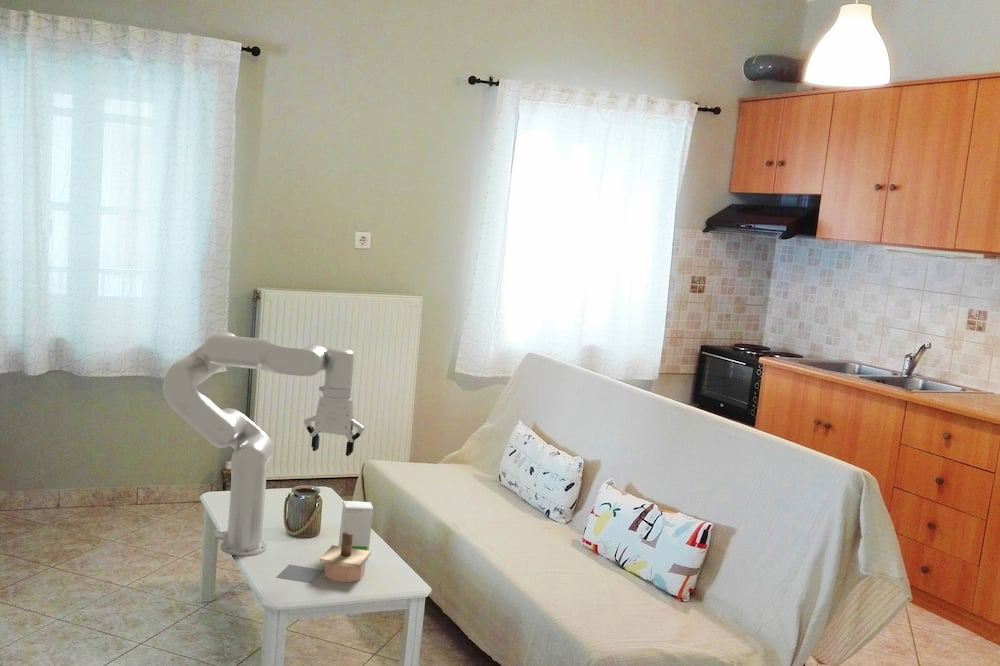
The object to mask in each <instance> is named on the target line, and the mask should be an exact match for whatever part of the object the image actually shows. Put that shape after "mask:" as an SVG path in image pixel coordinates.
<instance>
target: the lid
mask: <svg viewBox="0 0 1000 666" xmlns="http://www.w3.org/2000/svg"><path fill="white" fill-rule="evenodd" d="M352 539H353V533H352V532H343V534H342V545H341V546H338V545H335V544H333V545H331V546H330V547H329V548H328V549H327V550H326V551H325V552H324V554H323V555H321V557H320V558H319V563H322V564H325V563H328V564H334V565H341V566H347V567H354V568H360V567H361V566H362V565H363V563H364V562H365V561H368V560H369V558H370V557H371V554H372V551H371V550H369V551H367V550H360V549H354V548H352ZM365 563H366V562H365Z"/></svg>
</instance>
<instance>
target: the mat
mask: <svg viewBox="0 0 1000 666" xmlns="http://www.w3.org/2000/svg"><path fill="white" fill-rule="evenodd" d="M323 572H325V569H322V568H314V567H307V566H301V565H294V564H288V565H287V566H286V567H285V568H284V569H283V570H282V571H281V572H280V573H279V574H277V576H275V578H277V579H283V580H288V581H295V582H299V583H300V582H301V583H308V584H314V582H315V581H316V580H317V579H318V578H319V577H320V575H322V573H323Z"/></svg>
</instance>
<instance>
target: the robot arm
mask: <svg viewBox="0 0 1000 666" xmlns="http://www.w3.org/2000/svg"><path fill="white" fill-rule="evenodd" d="M354 363H355V354H354V352H353V351H352V350H351V349H348V348H341V347H338V348H337V347H334V348H333V347H329V346H328V347H327V346H324V345H321V344H309V345H307V346H305V347H304V348H297V347H296V348H295V347H287V346H281V345H276V344H274V343H272V342H270V341H269V340H267V339H265V338H260V337H259V338H258V337H257V338H256V337H248V336H247V337H245V336H237V335H235V334H233V333H232V332H229V331H218V332H217V333H214V334H212V335H211V336H208V338H207V339H206V340H205V341H204V342H203V344H202V345H201V346H200V347H198V348H197V349H196V350H193V352H191V353H190V354H188V355H187V356H185V357H183V358H182V359H180V360H178V361H176V362H175V363H173V364H172V365H171V366H170V367H169V368H168V369H167V371H166V372H165V375H164V378H163V382H162V390H163V396H164V398H165V401H166V402H167V405H169V406H170V408H172V409H173V410H174V412H176V413H177V414H178V415H179V416H180V417H181V418H182V419H184V420H185V421H186V422H187V423H188V424H189V425H190V426H191V427H192V428H194V430H195V431H197V432H198V433H199V434H200V435H201V436H202V437H203V438H204V439H206V440H207V442H209V443H210V444H211V445H212V446H215V447H216V448H220V449H221V448H223V449H224V448H228V447H229V446H230V447H231V448H232V449H234V451H233V452H232V455H231V460H230V493H229V497H230V498H229V508H228V523H227V529H226V530H222V529H215V530H214V532H213V535H214V536H213V537H214V539H215V540H222V542H221V543H220V550H221V551H222V552H223V553H225V554H228V555H230V556H235V557H237V556H240V557H242V556H243V557H247V556H249V557H250V556H256V555H261V554H262V553H265V552H266V551H267V549H268V548H267V546H268V545H267V543H266V542H265V541H264V540H262V539H263V526H264V515H265V513H264V512H265V501H266V500H265V499H266V490H267V489H266V488H267V467H268V464H269V462H270V461H271V459H272V458H273V455H274V453H275V452H274V451H275V448H274V447H275V445H274V443H273V440H272V439H271V438H270V436H269V435H267V433H266V432H264V431H263V430H262V429H261V428H260V427H259V426H257V425H256V423H254V421H252V420H251V419H250V418H249V417H247V415H246V414H244V413H242V412H241V411H239V410H237V409H235V408H230V407H228V408H227V407H226V408H222V409H221V408H220V407H218V406H217V404H215V403H214V402H213V401H212V399H210V398H208V397H207V396H206V395H204V394H202V393H201V392H200V391H199V390H198V389H197V386H199V385H201V384H202V383H203V382H205V381H206V380H207V379H209V378H210V377H211V376H213V375H214V374H215V373H217V372H218V371H220V370H221V369H222V368H223V367H229V368H230V367H234V368H243V369H252V370H253V369H254V370H260V371H264V372H269V373H274V374H279V375H286V376H287V375H289V376H295V377H296V376H297V377H298V376H299V377H311V376H312V377H313V376H315V375H317V374H318V373H320V372H321V371H322V372H323V371H324V385H322V386H319V387H318V391H319V392H321V393H322V395H320V397H319V399H318V404H317V407H316V408H317V409H316V413H315V415H314V416H311V417H308V418H305V419H304V420H303V422H304V425H305V427H306V430H307V432H308V433H309V434H310V437H311V445H310V446H311V448H312V452H317V450H319V446H320V435H319V434H320V433H322V434H323V433H324V434H329V435H337V436H345V437H346V438H347V440H348V441H347V442H346V449H345V456H346V457H349V456H350V455H352V453H353V452H354V446H355V441H356V440H357V439H358V438H359V437H361V436H362V434H363V433H364V431H365V430H366V428H365V426H364V425H362V424H361V423H359V422H358V421H357V420H355V419H354V416H355V414H354V412H355V410H354V401H353V398H351V396H352V386H353V385H352V384H353V374H354ZM312 422H314V426H313V425H312ZM354 428H356V430H357V432H356V433H355V434H354V433H353V430H354Z"/></svg>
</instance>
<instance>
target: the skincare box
mask: <svg viewBox="0 0 1000 666" xmlns="http://www.w3.org/2000/svg"><path fill="white" fill-rule="evenodd" d="M373 516H374V507H373V505H372V502H370V501H368V502H367V501H360V500H359V501H357V500H354V501H352V500H342V510H341V519H340V529H339V539H338V545H337V546H341V545H342V534H343V532H352V533H353V539H352V548H354V549H360V550H367V551H370V550H369V549H370V542H371V541H370V540H371V531H372V523H373Z"/></svg>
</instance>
